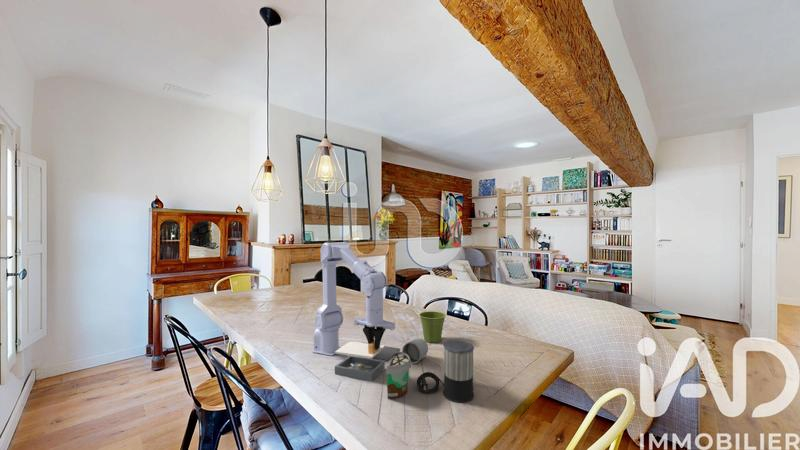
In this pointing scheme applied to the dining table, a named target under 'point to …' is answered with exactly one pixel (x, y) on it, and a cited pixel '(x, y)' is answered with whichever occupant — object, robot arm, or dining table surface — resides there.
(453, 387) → the milk frother
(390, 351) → the mat
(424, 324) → the plant pot
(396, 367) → the food container
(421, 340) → the ceramic mug
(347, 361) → the dark grey tray
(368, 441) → the dining table surface
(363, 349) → the lid
